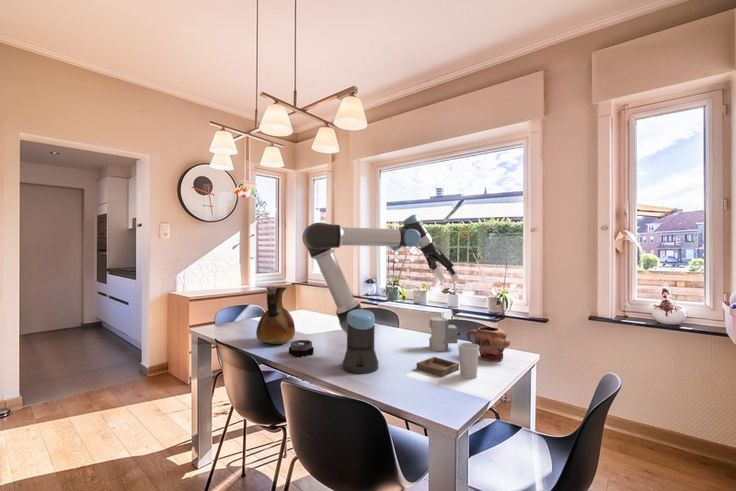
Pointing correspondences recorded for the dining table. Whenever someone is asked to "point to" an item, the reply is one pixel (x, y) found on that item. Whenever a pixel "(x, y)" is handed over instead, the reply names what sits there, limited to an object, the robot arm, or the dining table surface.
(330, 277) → the robot arm
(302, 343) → the cpu cooler
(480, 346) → the brown clay rounded pot
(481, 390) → the dining table surface
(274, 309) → the brown vase
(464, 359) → the cup
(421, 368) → the wooden tray
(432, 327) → the circuit breaker
